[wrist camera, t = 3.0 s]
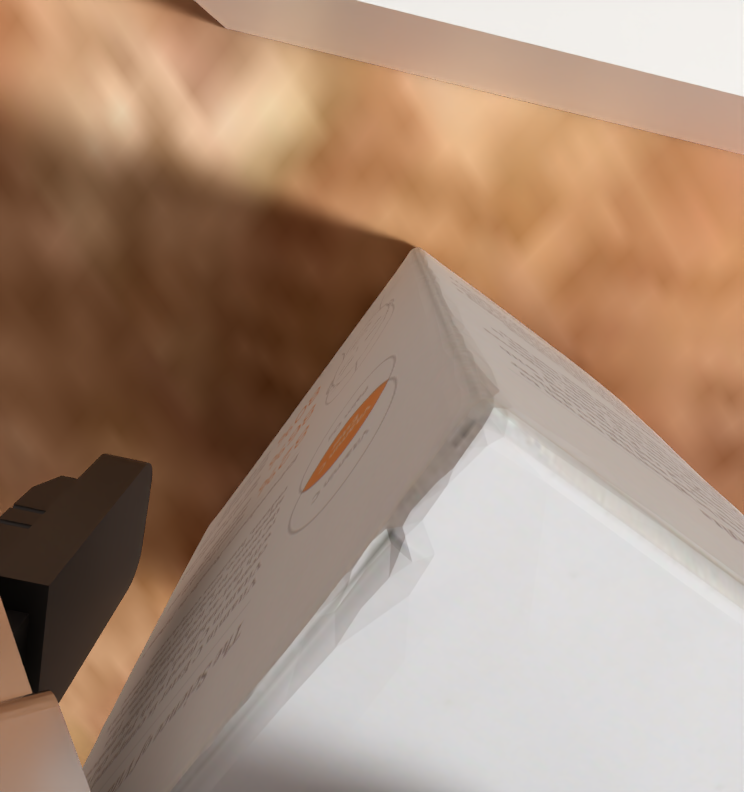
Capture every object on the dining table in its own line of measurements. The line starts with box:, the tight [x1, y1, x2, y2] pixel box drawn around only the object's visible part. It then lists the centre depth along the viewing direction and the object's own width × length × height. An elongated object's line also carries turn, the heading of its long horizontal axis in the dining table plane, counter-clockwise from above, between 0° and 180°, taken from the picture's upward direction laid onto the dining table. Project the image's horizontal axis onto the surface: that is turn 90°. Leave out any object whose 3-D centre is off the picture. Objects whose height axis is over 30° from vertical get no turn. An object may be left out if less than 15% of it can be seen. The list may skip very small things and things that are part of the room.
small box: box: [82, 247, 744, 792], centre depth 10 cm, size 8×6×10 cm
